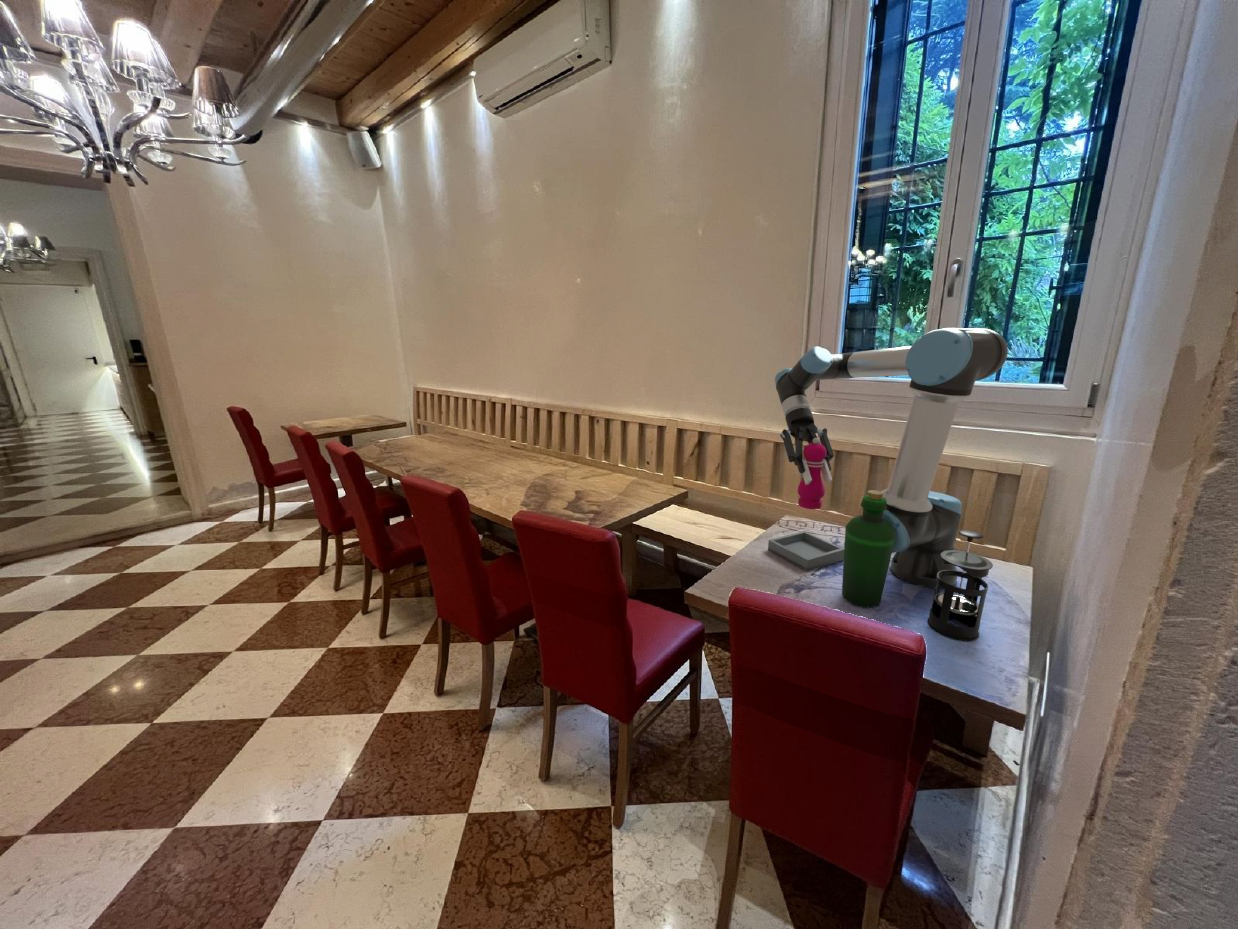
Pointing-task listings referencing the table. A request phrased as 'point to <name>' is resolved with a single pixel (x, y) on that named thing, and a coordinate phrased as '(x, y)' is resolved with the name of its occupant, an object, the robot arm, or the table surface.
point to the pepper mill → (813, 476)
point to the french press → (958, 605)
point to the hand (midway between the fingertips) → (818, 481)
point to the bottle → (867, 552)
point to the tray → (806, 550)
